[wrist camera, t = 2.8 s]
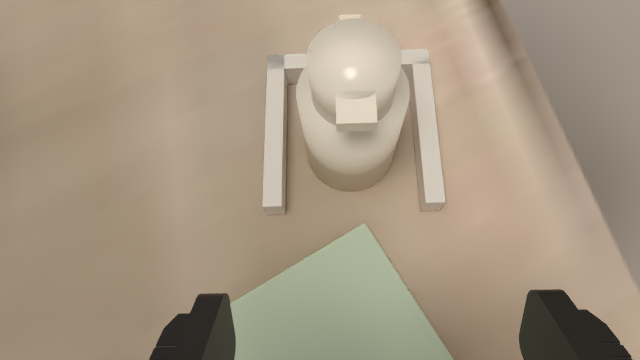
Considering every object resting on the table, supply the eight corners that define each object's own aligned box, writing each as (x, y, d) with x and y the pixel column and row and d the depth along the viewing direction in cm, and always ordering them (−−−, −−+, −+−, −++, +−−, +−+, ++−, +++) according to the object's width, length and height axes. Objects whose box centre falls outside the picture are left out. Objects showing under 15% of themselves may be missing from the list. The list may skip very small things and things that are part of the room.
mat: (202, 322, 27) (198, 321, 26) (364, 224, 28) (364, 222, 28) (296, 524, 23) (295, 528, 23) (477, 399, 25) (480, 400, 24)
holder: (438, 210, 29) (445, 202, 27) (267, 214, 29) (262, 206, 27) (423, 65, 32) (428, 48, 30) (272, 71, 33) (267, 55, 31)
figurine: (396, 196, 29) (426, 120, 19) (307, 198, 29) (288, 125, 19) (388, 90, 32) (410, -28, 21) (307, 92, 32) (290, -22, 22)
